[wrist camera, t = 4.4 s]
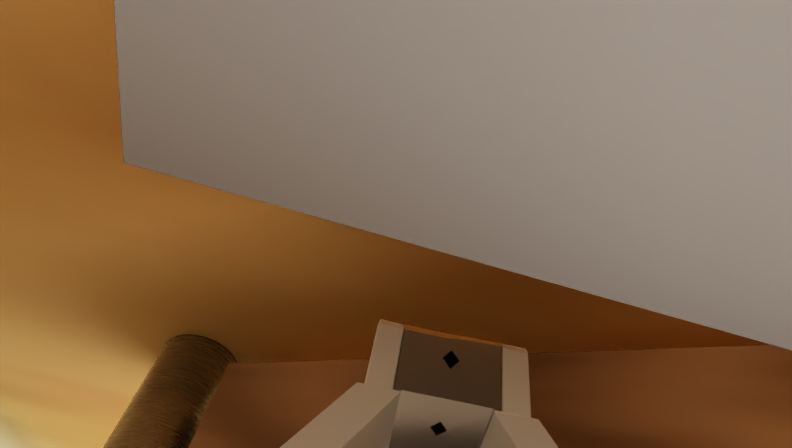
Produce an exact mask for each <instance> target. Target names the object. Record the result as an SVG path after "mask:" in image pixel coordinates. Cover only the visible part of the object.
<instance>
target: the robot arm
mask: <svg viewBox="0 0 792 448" xmlns="http://www.w3.org/2000/svg"><path fill="white" fill-rule="evenodd" d="M403 330H404V331H403ZM280 448H558V446H557V445H556V444H555V442H554V441H553V439H552V438H551V436H550V435H549V433H548V432H547V431H546V429H545V428H544V426H543V425H542V423H541V422H540V421H539V419H535V418H531V403H530V382H529V362H528V352H527V350H526V348H522V347H517V346H511V345H506V344H500V343H497V342H491V341H486V340H481V339H475V338H470V337H465V336H460V335H454V334H452V335H451V334H447V333H442V332H438V331H434V330H429V329H425V328H420V327H416V326H411V325H407V324H405V326H404V324H401V323H396V322H392V321H387V320H383V319H380V321H379V323H378V326H377V331H376V335H375V339H374V343H373V348H372V352H371V356H370V361H369V365H368V369H367V374H366V378H365V382H364V383H358V382H357V383H356V384H354V385H353V386H352V387H351V388H350V389H349V390H347V391H346V392H345V393H344V394H343V395H341V396H340V397H339V398H338V399H337V400H335V401H334V402H333V403H332V404H331V405H330V406H328V407H327V408H326V409H325V410H324V411H322V412H321V413H320V414H319V415H318V416H317V417H315V418H314V419H313V420H312V421H311V422H309V423H308V424H307V425H306V426H305V427H304V428H302V429H301V430H300V431H299V432H298V433H296V434H295V435H294V436H293V437H292V438H291V439H289V440H288V441H287V442H286V443H285V444H283V445H282V446H281V447H280Z"/></svg>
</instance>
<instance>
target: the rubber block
mask: <svg viewBox="0 0 792 448" xmlns="http://www.w3.org/2000/svg"><path fill="white" fill-rule="evenodd" d="M114 10H115V27H116V43H117V60H118V77H119V93H120V110H121V127H122V143H123V160H124V163H126V164H130V165H133V166H137V167H140V168H144V169H148V170H151V171H155V172H158V173H162V174H165V175H169V176H172V177H176V178H180V179H183V180H187V181H190V182H194V183H197V184H201V185H205V186H208V187H212V188H215V189H219V190H222V191H226V192H229V193H233V194H237V195H240V196H244V197H247V198H251V199H254V200H258V201H262V202H265V203H269V204H272V205H276V206H279V207H283V208H286V209H290V210H294V211H297V212H301V213H304V214H308V215H311V216H315V217H319V218H322V219H326V220H329V221H333V222H336V223H340V224H343V225H347V226H351V227H354V228H358V229H361V230H365V231H368V232H372V233H376V234H379V235H383V236H386V237H390V238H393V239H397V240H400V241H404V242H408V243H411V244H415V245H418V246H422V247H425V248H429V249H432V250H436V251H440V252H443V253H447V254H450V255H454V256H457V257H461V258H465V259H468V260H472V261H475V262H479V263H482V264H486V265H489V266H493V267H497V268H500V269H504V270H507V271H511V272H514V273H518V274H522V275H525V276H529V277H532V278H536V279H539V280H543V281H546V282H550V283H554V284H557V285H561V286H564V287H568V288H571V289H575V290H579V291H582V292H586V293H589V294H593V295H596V296H600V297H603V298H607V299H611V300H614V301H618V302H621V303H625V304H628V305H632V306H636V307H639V308H643V309H646V310H650V311H653V312H657V313H660V314H664V315H668V316H671V317H675V318H678V319H682V320H685V321H689V322H692V323H696V324H700V325H703V326H707V327H710V328H714V329H717V330H721V331H725V332H728V333H732V334H735V335H739V336H742V337H746V338H749V339H753V340H757V341H760V342H764V343H767V344H771V345H774V346H778V347H782V348H785V349H789V350H792V0H114Z"/></svg>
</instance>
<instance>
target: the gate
mask: <svg viewBox="0 0 792 448" xmlns="http://www.w3.org/2000/svg"><path fill="white" fill-rule="evenodd" d="M369 361H370V359H351V360H322V361H294V362H265V363H237V364H228V366H227V368H226V370H225V372H224V374H223V377H222V379H221V381H220V383H219V385H218V387H217V389H216V391H215V393H214V395H213V398H212V400H211V402H210V404H209V406H208V408H207V410H206V412H205V414H204V417H203V419H202V421H201V423H200V425H199V427H198V429H197V431H196V433H195V435H194V438H193V440H192V442H191V444H190V446H189V448H280V447H281V446H282V445H283V444H285V443H286V442H287V441H288V440H289V439H291V438H292V437H293V436H294V435H295V434H296V433H298V432H299V431H300V430H301V429H302V428H304V427H305V426H306V425H307V424H308V423H309V422H311V421H312V420H313V419H314V418H315V417H317V416H318V415H319V414H320V413H321V412H322V411H324V410H325V409H326V408H327V407H328V406H330V405H331V404H332V403H333V402H334V401H335V400H337V399H338V398H339V397H340V396H341V395H343V394H344V393H345V392H346V391H347V390H349V389H350V388H351V387H352V386H353V385H354V384H356V383H357V382H358V383H364V382H365V378H366V374H367V369H368V365H369ZM528 362H529V382H530V403H531V418H535V419H539V421H540V422H541V423H542V425H543V426H544V428H545V429H546V431H547V432H548V433H549V435H550V436H551V438H552V439H553V441H554V442H555V444H556V445H557V446H558V448H792V350H789V349H785V348H782V347H778V346H774V345H749V346H721V347H692V348H664V349H636V350H607V351H579V352H550V353H528Z"/></svg>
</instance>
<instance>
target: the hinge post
mask: <svg viewBox="0 0 792 448" xmlns="http://www.w3.org/2000/svg"><path fill="white" fill-rule="evenodd" d="M228 364H237V362H236V360H235V359H234V357H233V356H232V355H231V353H230V352H229V351H228V350H226V349H225V348H224V347H223V346H221V345H220V344H218V343H216V342H214V341H212V340H210V339H207V338H204V337H200V336H195V335H180V336H176V337H174V338H172V339H170V340H169V341H168V342H167V343H166V345H165V346H164V348H163V350H162V351H161V353H160V355H159V356H158V358H157V360H156V361H155V363H154V365H153V366H152V368H151V369H150V371H149V373H148V374H147V376H146V378H145V379H144V381H143V383H142V384H141V386H140V388H139V389H138V391H137V393H136V394H135V396H134V398H133V399H132V401H131V403H130V404H129V406H128V408H127V409H126V411H125V413H124V414H123V416H122V417H121V419H120V421H119V422H118V424H117V426H116V427H115V429H114V431H113V432H112V434H111V436H110V437H109V439H108V441H107V442H106V444H105V446H104V447H103V448H189V446H190V444H191V442H192V440H193V438H194V435H195V433H196V431H197V429H198V427H199V425H200V423H201V421H202V419H203V417H204V414H205V412H206V410H207V408H208V406H209V404H210V402H211V400H212V398H213V395H214V393H215V391H216V389H217V387H218V385H219V383H220V381H221V379H222V377H223V374H224V372H225V370H226V368H227V366H228Z"/></svg>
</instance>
